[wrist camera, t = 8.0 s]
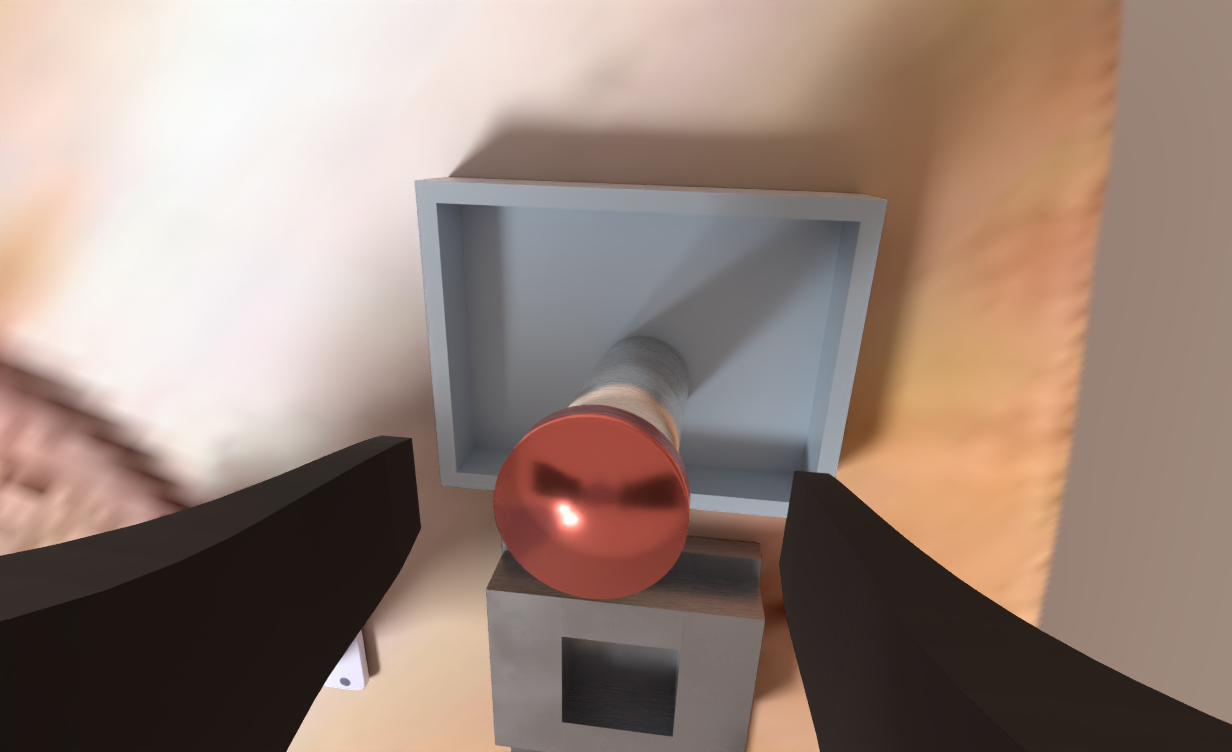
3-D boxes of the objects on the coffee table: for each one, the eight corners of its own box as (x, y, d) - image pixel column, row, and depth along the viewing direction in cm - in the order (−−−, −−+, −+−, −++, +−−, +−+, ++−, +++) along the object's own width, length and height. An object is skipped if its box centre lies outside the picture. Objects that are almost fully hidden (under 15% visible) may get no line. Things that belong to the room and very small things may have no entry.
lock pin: (586, 431, 21) (498, 588, 13) (584, 322, 20) (487, 415, 12) (698, 438, 21) (684, 609, 12) (703, 326, 20) (692, 429, 11)
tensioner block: (519, 788, 30) (501, 853, 27) (508, 518, 24) (484, 567, 21) (720, 816, 29) (723, 888, 26) (759, 543, 23) (768, 597, 20)
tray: (466, 452, 23) (440, 485, 21) (447, 176, 19) (414, 180, 17) (812, 482, 22) (827, 521, 19) (862, 193, 18) (887, 199, 16)
